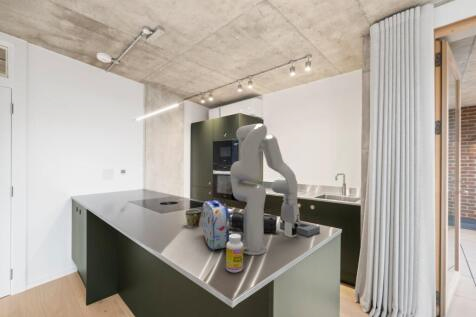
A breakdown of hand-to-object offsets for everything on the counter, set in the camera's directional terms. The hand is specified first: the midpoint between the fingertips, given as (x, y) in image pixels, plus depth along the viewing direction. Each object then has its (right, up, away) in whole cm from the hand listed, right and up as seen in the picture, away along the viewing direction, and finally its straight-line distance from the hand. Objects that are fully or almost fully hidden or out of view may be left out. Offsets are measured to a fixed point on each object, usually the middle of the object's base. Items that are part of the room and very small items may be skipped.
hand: (290, 233), depth 122 cm
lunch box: (-41, -1, -12) cm, 43 cm away
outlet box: (+8, -2, +8) cm, 11 cm away
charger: (0, -1, 0) cm, 1 cm away
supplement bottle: (-31, -1, -38) cm, 49 cm away
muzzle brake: (-21, -2, +8) cm, 22 cm away
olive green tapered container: (-58, -2, +14) cm, 60 cm away
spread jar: (-38, -2, +14) cm, 40 cm away
